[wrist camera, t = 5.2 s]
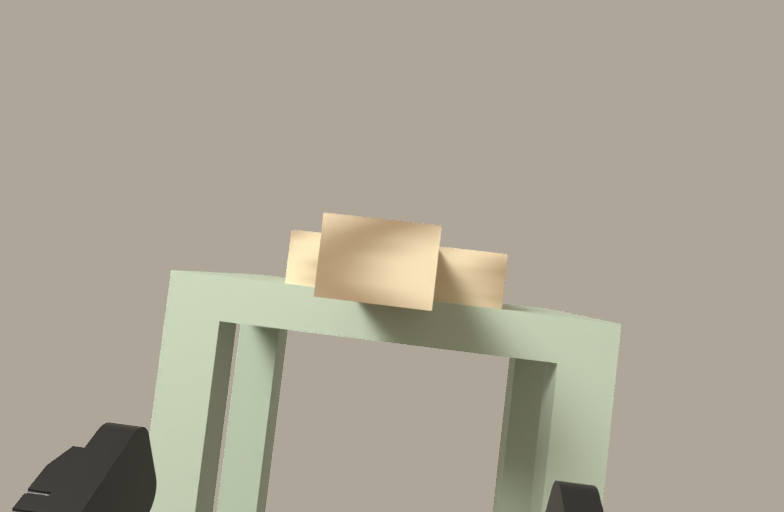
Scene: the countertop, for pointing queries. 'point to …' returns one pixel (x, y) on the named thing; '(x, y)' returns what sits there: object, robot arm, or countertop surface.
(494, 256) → the cheese board
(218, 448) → the mint green side table
